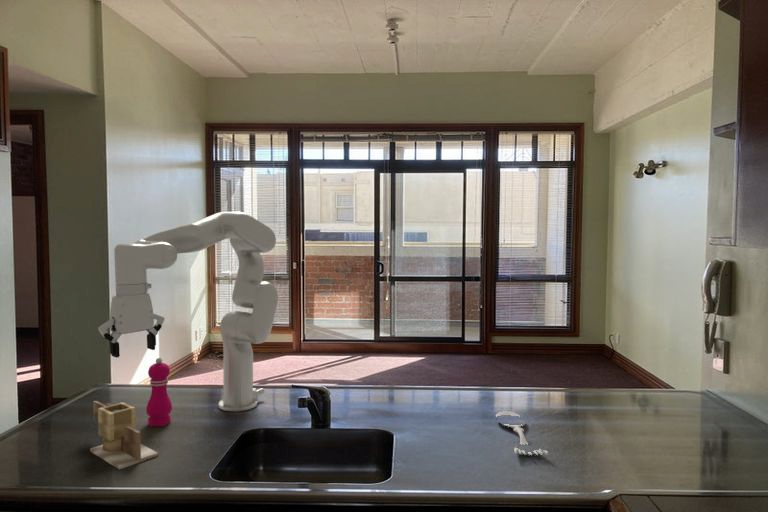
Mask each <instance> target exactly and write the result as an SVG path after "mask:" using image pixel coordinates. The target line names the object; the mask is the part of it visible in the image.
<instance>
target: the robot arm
mask: <svg viewBox="0 0 768 512" xmlns="http://www.w3.org/2000/svg"><path fill="white" fill-rule="evenodd" d="M227 239H229V243H230V246H231V247H232V249H233V251H234V252H235V254H236V256H237V259H238V269H237V274H236V277H235V282H234V285H233V289H232V297H231V298H232V299H231V300H232V303H233V304H234V305H235V306H237V307H240V308H243V309H249V310H252V312H248V311H240V310H238V311H237V310H233V311H229V312H227V313H226V314H224V315H223V317H222V319H221V322H220V327H219V328H220V329H219V330H220V336H221V339H222V345H223V346H222V348H223V363H222V364H223V365H222V366H223V367H222V368H223V374H222V375H223V377H222V378H223V394H222V395H223V397H222V398H223V399H221V400H219V402H218V408H219V409H220V410H223V411H225V412H242V411H243V412H244V411H248V410H252V409H254V408H255V407H257V405H258V399H257V397H258V396H260V395H264V394H265V389H264V388H263V387H262V388H258V389H257V388H254V351H253V347H252V344H257V345H258V344H263V343H265V342H266V341H267V340H268V338H269V337H270V335H271V332H272V328H273V325H274V320H275V317H276V316H275V315H276V311H277V307H278V301H279V294H278V289H277V287H276V286H275V284H273V283H272V282H269V281H265V280H263V279H264V272H265V263H264V259H263V256H262V255H261V254H265V253H269V252H271V251H272V250H273V249H274V248H275V245H276V243H277V237H276V234H275V232H274V230H273V229H272V228H271V227H269V226H267V224H265V223H263V222H261V221H260V220H258V219H257V218H255V217H254V216H251V215H249V214H248V213H245V212H242V211H219V212H216V213H213V214H211V215H209V216H206V217H203V218H202V219H199V220H196V221H194V222H192V223H188V224H186V225H181V226H178V227H175V228H171V229H168V230H163V231H159V232H157V233H154V234H151V235H149V236H146V237H143V238H141V239H139V240H137V241H135V242H133V243H132V242H131V243H120V244H117V245H115V247H114V255H113V256H114V277H115V295H112V297H111V302H110V303H111V304H110V309H109V319H108V320H107V321H105V322H104V323H103V324H101V325H100V326H98V327H97V329H98V332H99V333H100V334H101V336H102V338H104V339H105V340H107V342H109V354H110V355H111V356H112V357H113V358H116V359H117V358H120V355H121V353H120V343H119V339H120V337H121V336H122V335H127V334H133V333H138V332H142V331H143V332H145V331H146V332H147V335H146V347H147V349H149V350H152V351H155V350H156V346H157V335H158V334H159V331H160V330H161V329H162V327H163V326H162V325H163V324H164V322H165V317H163V316H160V315H158V314H155V313H154V308H153V302H152V299H151V298H152V297H151V295H150V293H149V291H148V290H149V289H152V284H151V283H148V279H147V276H148V275H147V270H149V269H150V270H152V269H154V270H155V269H156V270H163V269H168V268H171V267H172V266H173V265H175V263H176V262H177V259H178V254H179V255H180V254H188V253H195V252H200V251H203V250H205V249H207V248H209V247H212V246H213V245H215V244H217V243H220V242H222V241H224V240H227ZM155 320H156V323H155ZM154 323H155V324H154ZM108 329H109V330H110V332H111V333H108V332H109V331H108Z"/></svg>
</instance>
